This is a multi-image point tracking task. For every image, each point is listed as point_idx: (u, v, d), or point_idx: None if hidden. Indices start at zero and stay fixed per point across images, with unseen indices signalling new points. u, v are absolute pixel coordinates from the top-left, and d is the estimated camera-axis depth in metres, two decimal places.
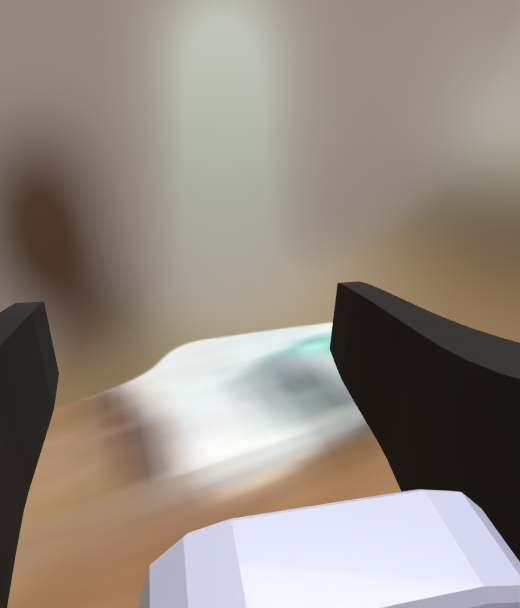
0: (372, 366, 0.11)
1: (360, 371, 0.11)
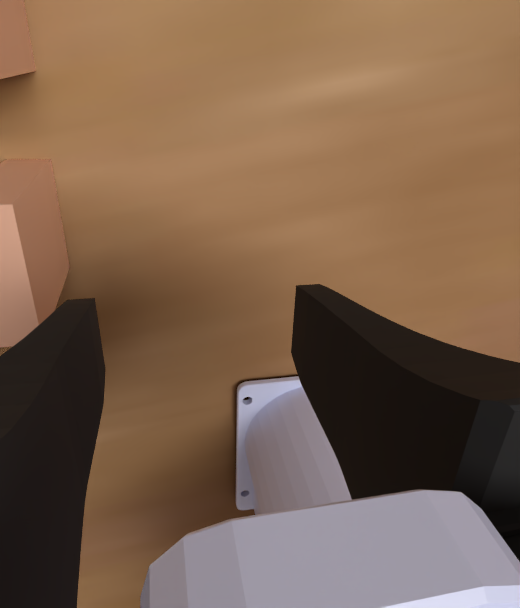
0: (325, 371, 0.10)
1: (315, 375, 0.11)
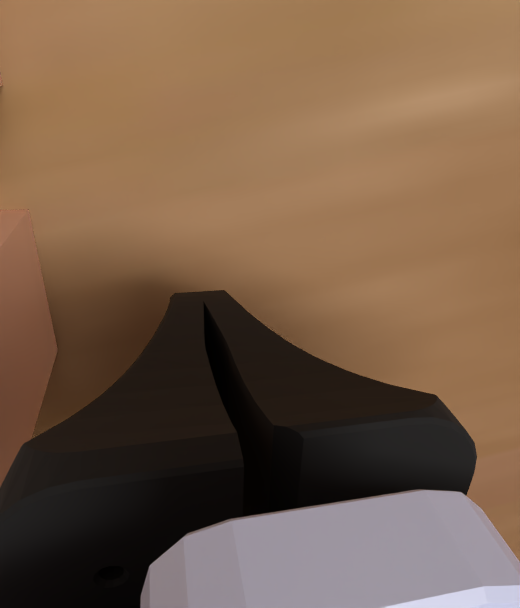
0: (216, 382, 0.10)
1: None
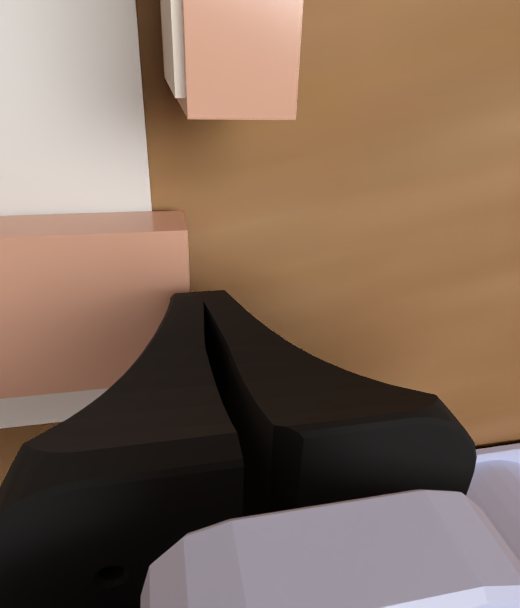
0: (216, 382, 0.10)
1: None
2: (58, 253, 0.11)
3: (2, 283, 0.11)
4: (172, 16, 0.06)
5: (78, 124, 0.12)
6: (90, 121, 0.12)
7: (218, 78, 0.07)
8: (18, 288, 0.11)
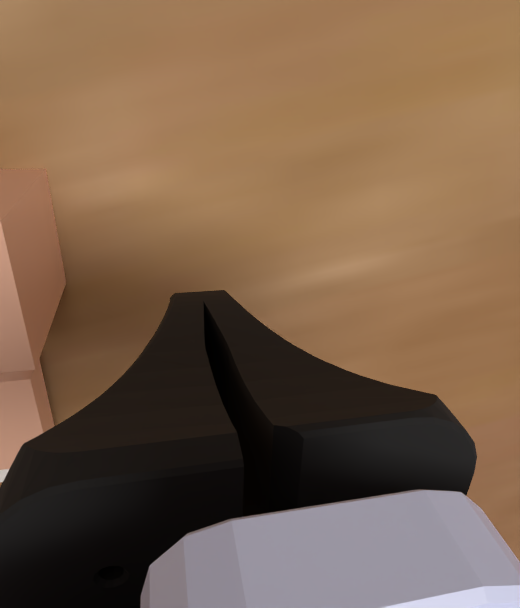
0: (216, 382, 0.10)
1: None
2: None
3: None
4: None
5: None
6: None
7: None
8: None
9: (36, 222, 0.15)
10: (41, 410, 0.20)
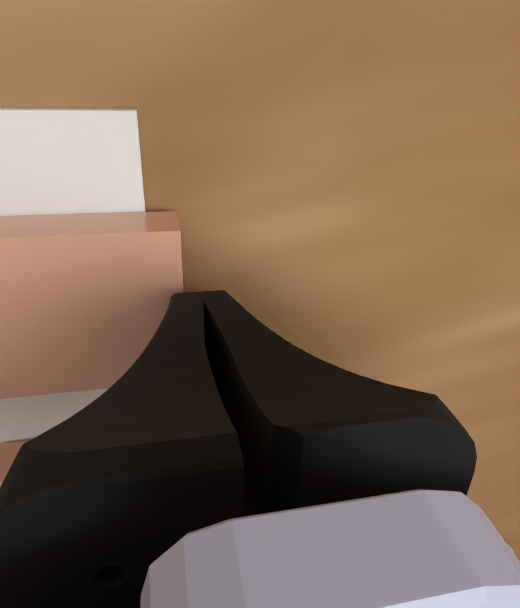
0: (216, 382, 0.10)
1: None
2: None
3: None
4: None
5: None
6: None
7: None
8: None
9: (69, 278, 0.11)
10: None
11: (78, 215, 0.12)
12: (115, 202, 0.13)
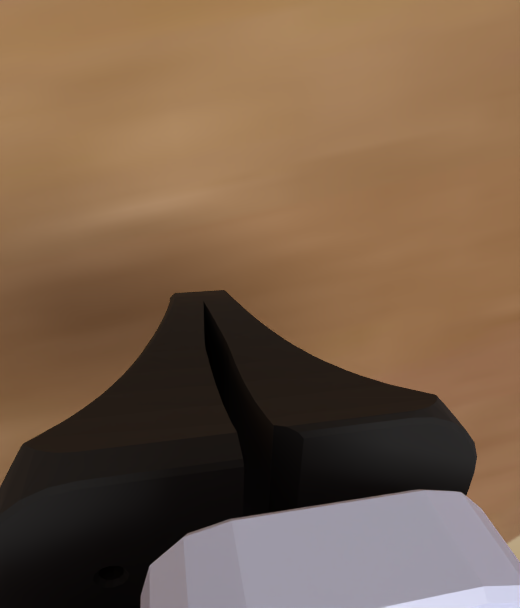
0: (216, 382, 0.10)
1: None
2: None
3: None
4: None
5: None
6: None
7: None
8: None
9: None
10: None
11: None
12: None
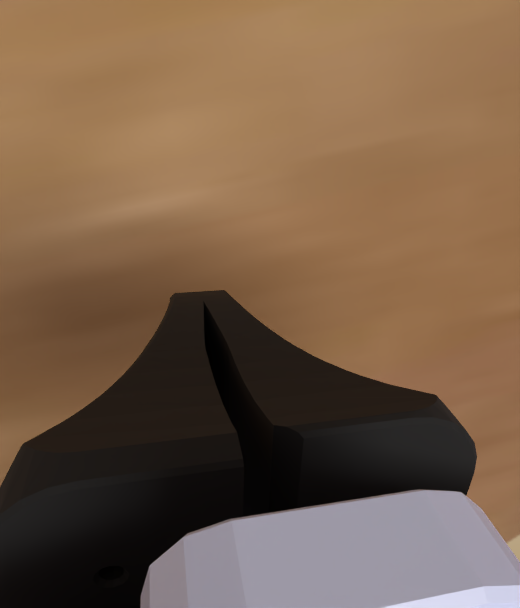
0: (216, 382, 0.10)
1: None
2: None
3: None
4: None
5: None
6: None
7: None
8: None
9: None
10: None
11: None
12: None
